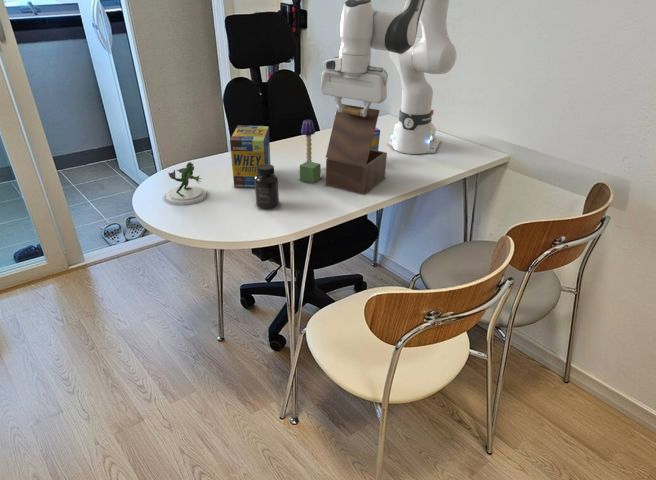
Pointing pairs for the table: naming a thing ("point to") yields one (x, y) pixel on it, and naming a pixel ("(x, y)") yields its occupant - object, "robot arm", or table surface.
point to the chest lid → (352, 135)
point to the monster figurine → (185, 188)
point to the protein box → (249, 153)
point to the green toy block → (310, 171)
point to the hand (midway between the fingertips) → (351, 114)
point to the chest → (356, 173)
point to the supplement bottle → (266, 187)
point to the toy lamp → (308, 136)
